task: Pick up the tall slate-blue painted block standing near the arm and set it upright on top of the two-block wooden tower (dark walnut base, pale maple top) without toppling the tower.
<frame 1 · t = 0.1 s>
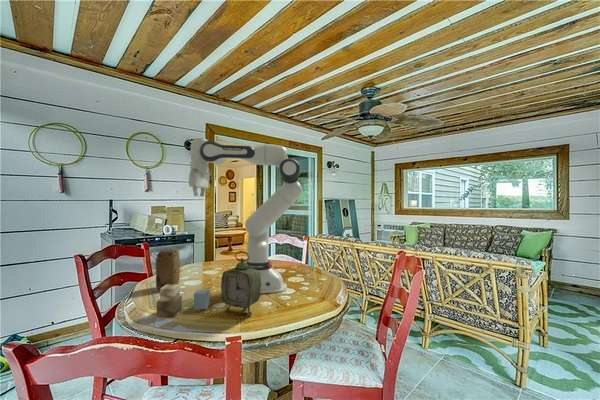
hand: (199, 196, 147), 48 cm above the table, fingers open, 8 cm apart
walnut base block: (169, 313, 114), on the table, touching maple top block
tabletop clock: (242, 312, 116), on the table
block: (167, 288, 147), on the table
slate block: (201, 307, 120), on the table
maple top block: (170, 298, 114), point 6 cm above the table, touching walnut base block
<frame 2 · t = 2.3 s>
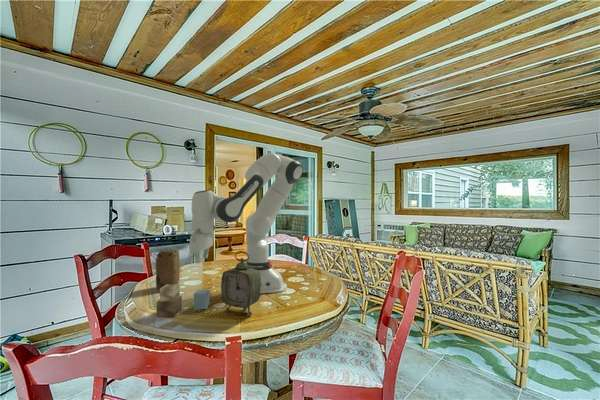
hand: (201, 260, 120), 20 cm above the table, fingers open, 8 cm apart
nothing on the table moved.
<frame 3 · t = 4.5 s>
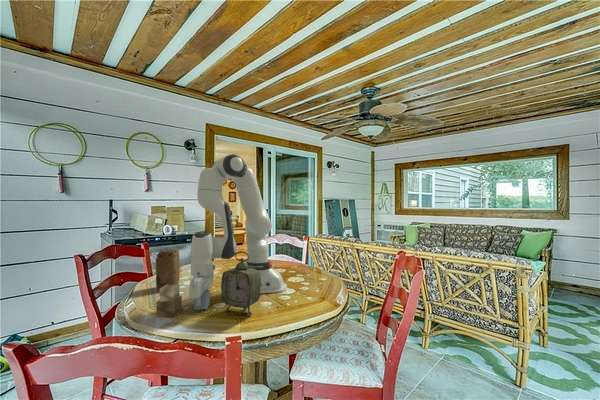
hand: (201, 302, 120), 2 cm above the table, fingers closed on slate block, 5 cm apart
slate block: (201, 307, 120), on the table, touching gripper
everything else where it was.
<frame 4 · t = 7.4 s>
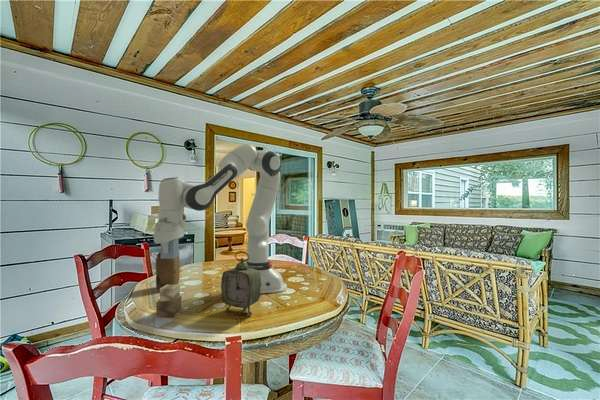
hand: (170, 251, 114), 25 cm above the table, fingers closed on slate block, 5 cm apart
slate block: (169, 257, 114), point 23 cm above the table, touching gripper
everything else where it was.
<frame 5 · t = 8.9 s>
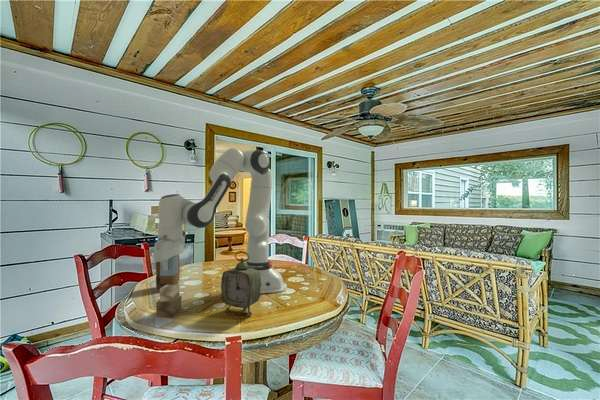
hand: (169, 268, 114), 18 cm above the table, fingers closed on slate block, 5 cm apart
walnut base block: (169, 313, 114), on the table
slate block: (169, 274, 114), point 16 cm above the table, touching gripper
maple top block: (169, 299, 114), point 6 cm above the table
everything else where it was.
when the fingers open (14 cm above the table, at t = 10.3 s): slate block drops 1 cm, resting on maple top block.
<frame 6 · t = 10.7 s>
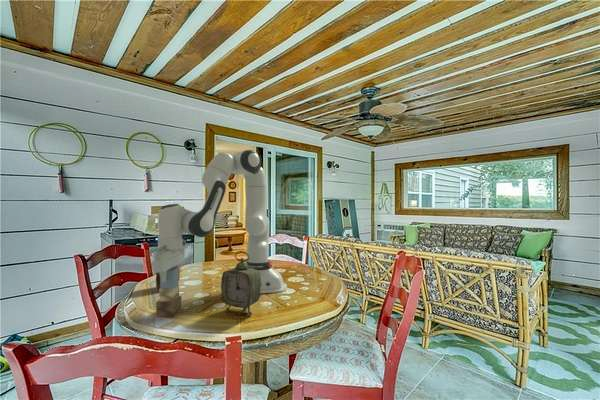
hand: (169, 278, 114), 14 cm above the table, fingers open, 8 cm apart
walnut base block: (169, 313, 114), on the table, touching maple top block
slate block: (169, 286, 114), point 11 cm above the table, touching maple top block
maple top block: (169, 299, 114), point 6 cm above the table, touching slate block, walnut base block
everything else where it was.
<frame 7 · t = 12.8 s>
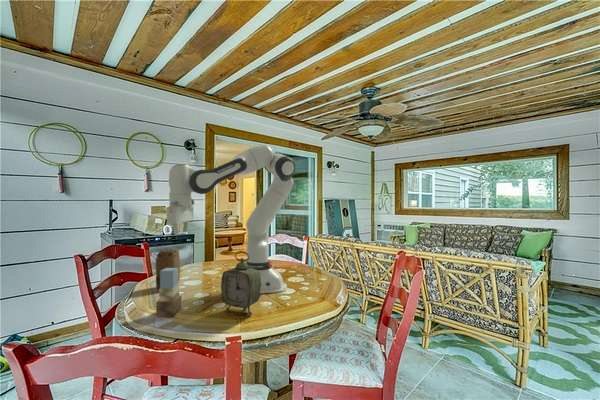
hand: (181, 232, 124), 32 cm above the table, fingers open, 8 cm apart
nothing on the table moved.
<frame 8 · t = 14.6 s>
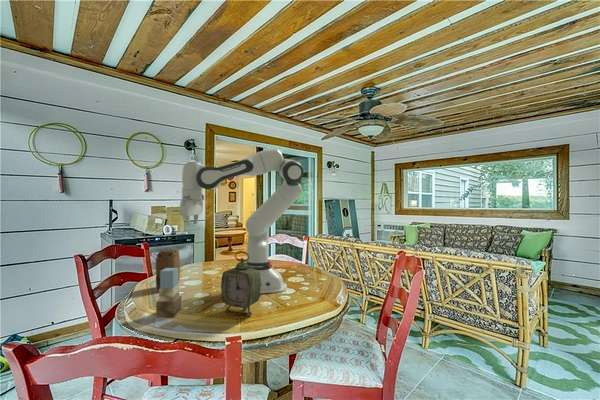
hand: (191, 224, 135), 34 cm above the table, fingers open, 8 cm apart
nothing on the table moved.
at the end: slate block 0.1 cm off-centre on the walnut base block, point 11.0 cm above the walnut base block's base; slate block tilted 0°; maple top block tilted 0° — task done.
